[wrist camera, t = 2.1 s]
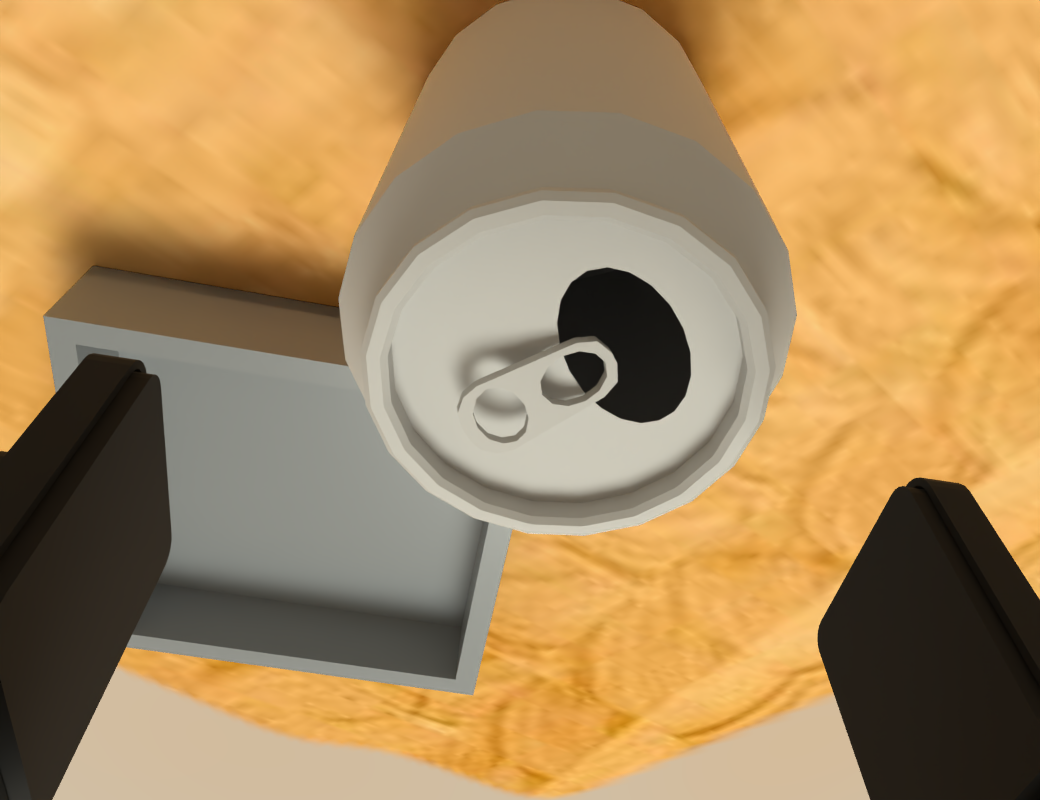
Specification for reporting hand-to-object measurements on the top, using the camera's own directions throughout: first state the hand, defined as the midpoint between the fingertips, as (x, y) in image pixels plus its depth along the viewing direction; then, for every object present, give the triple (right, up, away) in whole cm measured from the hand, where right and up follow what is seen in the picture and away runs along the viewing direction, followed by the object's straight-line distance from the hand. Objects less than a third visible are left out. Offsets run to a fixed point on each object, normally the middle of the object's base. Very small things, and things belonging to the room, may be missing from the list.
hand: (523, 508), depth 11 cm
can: (+1, +8, +12) cm, 15 cm away
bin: (-7, -1, +18) cm, 20 cm away
